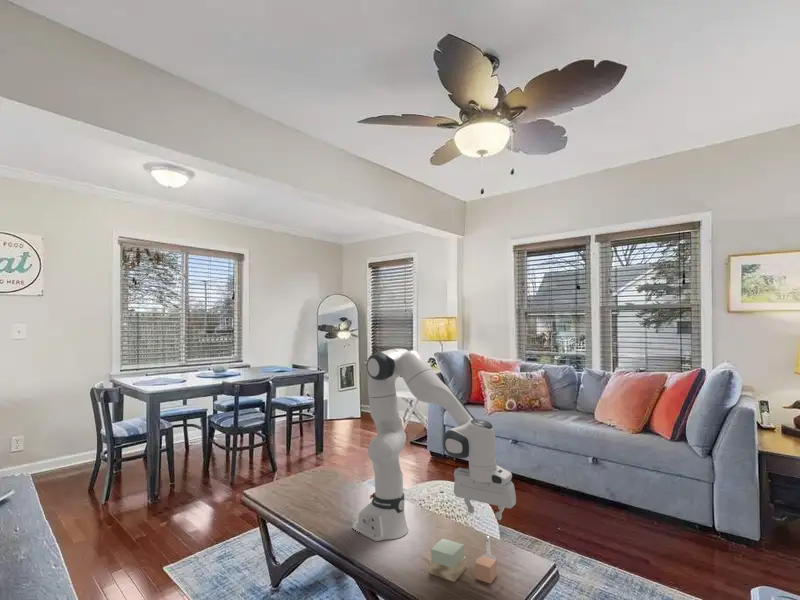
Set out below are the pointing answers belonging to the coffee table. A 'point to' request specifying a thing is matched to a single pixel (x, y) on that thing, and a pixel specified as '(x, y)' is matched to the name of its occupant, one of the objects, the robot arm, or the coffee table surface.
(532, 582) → the coffee table surface
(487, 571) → the terracotta block
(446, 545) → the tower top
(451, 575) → the tower base
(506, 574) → the coffee table surface
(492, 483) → the robot arm
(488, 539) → the stand
